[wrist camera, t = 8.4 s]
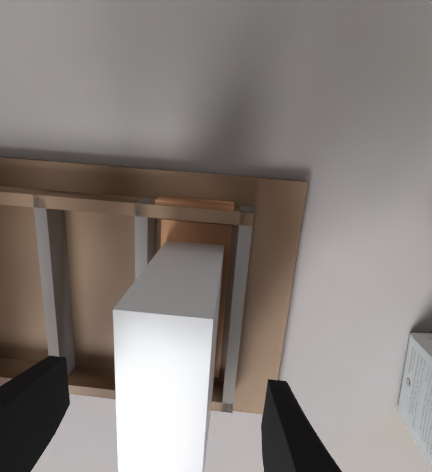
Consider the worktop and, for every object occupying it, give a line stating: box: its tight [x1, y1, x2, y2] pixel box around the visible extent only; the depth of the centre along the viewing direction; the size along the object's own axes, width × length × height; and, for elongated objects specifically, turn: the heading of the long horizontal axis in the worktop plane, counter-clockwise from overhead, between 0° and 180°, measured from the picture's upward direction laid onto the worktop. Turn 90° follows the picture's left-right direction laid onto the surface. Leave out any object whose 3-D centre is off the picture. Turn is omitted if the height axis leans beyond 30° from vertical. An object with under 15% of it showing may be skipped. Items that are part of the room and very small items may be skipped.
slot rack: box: [0, 157, 308, 414], centre depth 17 cm, size 20×14×2 cm
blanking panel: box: [113, 240, 224, 472], centre depth 14 cm, size 3×8×7 cm, turn 176°
